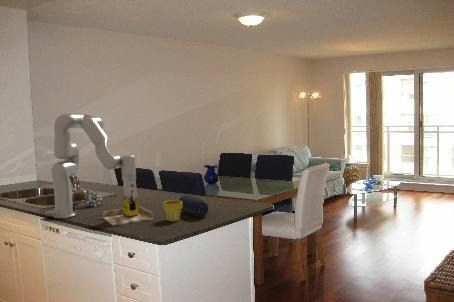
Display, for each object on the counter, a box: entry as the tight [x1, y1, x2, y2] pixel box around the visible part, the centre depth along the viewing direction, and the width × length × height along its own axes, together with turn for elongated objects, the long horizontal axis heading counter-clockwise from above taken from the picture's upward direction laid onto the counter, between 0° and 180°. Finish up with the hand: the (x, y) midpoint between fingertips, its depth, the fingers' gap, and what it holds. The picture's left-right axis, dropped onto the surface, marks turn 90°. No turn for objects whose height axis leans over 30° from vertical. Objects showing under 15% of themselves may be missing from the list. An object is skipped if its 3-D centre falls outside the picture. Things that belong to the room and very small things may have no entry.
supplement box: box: [122, 196, 139, 217], centre depth 248 cm, size 6×6×11 cm
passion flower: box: [82, 190, 103, 208], centre depth 286 cm, size 11×11×12 cm
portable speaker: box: [178, 194, 209, 218], centre depth 253 cm, size 25×10×10 cm, turn 30°
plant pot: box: [162, 199, 183, 222], centre depth 241 cm, size 10×10×10 cm
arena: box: [102, 205, 154, 226], centre depth 246 cm, size 22×20×4 cm
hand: (130, 208), depth 249 cm, fingers open, 7 cm apart
